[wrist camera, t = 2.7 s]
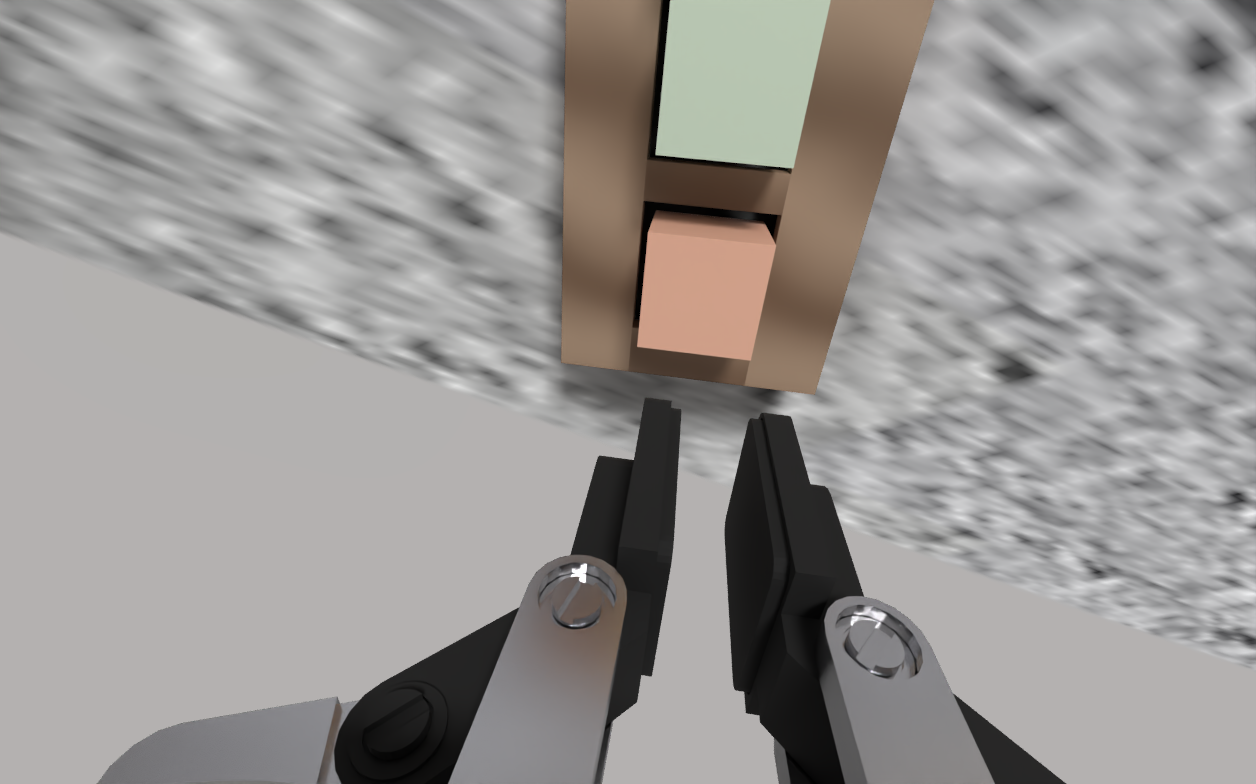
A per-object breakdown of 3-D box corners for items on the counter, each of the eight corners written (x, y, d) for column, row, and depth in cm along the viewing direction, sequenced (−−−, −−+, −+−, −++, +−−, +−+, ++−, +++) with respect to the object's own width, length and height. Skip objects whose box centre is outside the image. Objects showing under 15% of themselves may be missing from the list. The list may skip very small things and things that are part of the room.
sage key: (677, 4, 18) (671, -18, 15) (806, 14, 18) (831, -5, 14) (662, 144, 20) (655, 155, 17) (777, 155, 20) (793, 168, 17)
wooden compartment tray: (600, -380, 16) (572, -508, 13) (999, -367, 15) (1086, -501, 12) (578, 330, 28) (561, 362, 25) (800, 356, 27) (814, 394, 24)
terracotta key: (656, 210, 22) (648, 232, 18) (763, 221, 21) (776, 245, 18) (646, 310, 24) (637, 346, 21) (743, 321, 24) (750, 360, 20)
